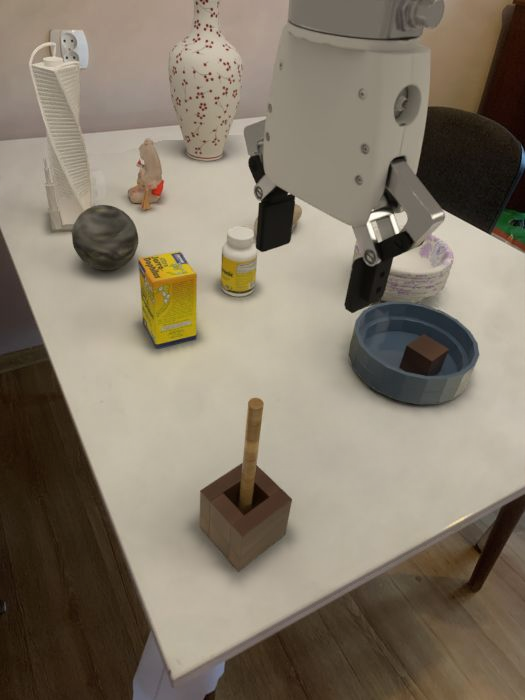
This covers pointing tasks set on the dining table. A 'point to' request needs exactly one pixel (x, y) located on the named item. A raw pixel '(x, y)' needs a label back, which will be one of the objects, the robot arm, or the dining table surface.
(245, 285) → the supplement bottle
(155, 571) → the dining table surface
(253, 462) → the bamboo stick
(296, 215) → the stone
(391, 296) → the paper bowls
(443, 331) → the stir bowl
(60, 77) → the skyscraper
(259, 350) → the dining table surface
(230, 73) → the vase
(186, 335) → the supplement box
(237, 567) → the stick holder
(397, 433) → the dining table surface
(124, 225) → the decorative stone
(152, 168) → the figurine
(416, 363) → the walnut cube
